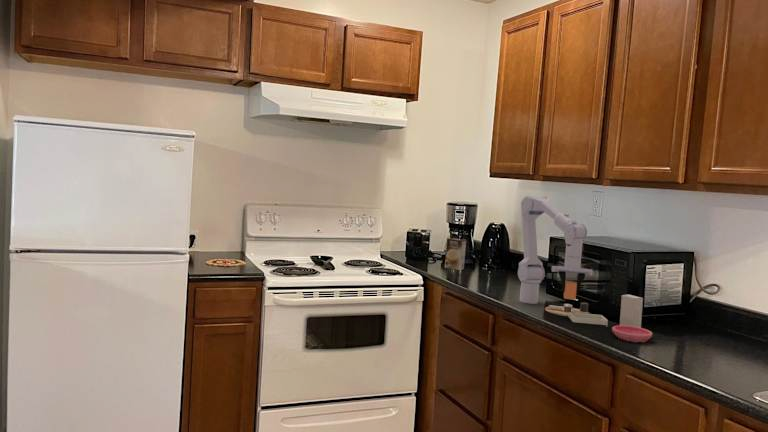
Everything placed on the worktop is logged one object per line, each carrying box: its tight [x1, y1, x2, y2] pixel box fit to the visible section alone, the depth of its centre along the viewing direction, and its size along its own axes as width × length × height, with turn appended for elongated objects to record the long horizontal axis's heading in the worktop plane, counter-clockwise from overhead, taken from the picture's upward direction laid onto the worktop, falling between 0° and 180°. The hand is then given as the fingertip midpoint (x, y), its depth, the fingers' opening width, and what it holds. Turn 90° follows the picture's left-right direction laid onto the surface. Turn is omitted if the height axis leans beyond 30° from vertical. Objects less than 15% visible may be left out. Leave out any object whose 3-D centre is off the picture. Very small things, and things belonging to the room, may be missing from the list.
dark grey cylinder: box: [548, 302, 589, 314], centre depth 228 cm, size 14×3×4 cm, turn 62°
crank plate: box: [544, 305, 591, 317], centre depth 228 cm, size 17×17×2 cm
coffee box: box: [444, 237, 467, 271], centre depth 318 cm, size 9×6×16 cm
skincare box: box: [619, 294, 644, 328], centre depth 209 cm, size 6×4×12 cm
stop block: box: [563, 280, 577, 301], centre depth 220 cm, size 4×4×6 cm
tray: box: [567, 312, 609, 328], centre depth 215 cm, size 8×12×2 cm, turn 84°
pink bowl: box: [611, 324, 653, 343], centre depth 197 cm, size 12×12×3 cm
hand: (570, 292), depth 221 cm, fingers closed on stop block, 4 cm apart
